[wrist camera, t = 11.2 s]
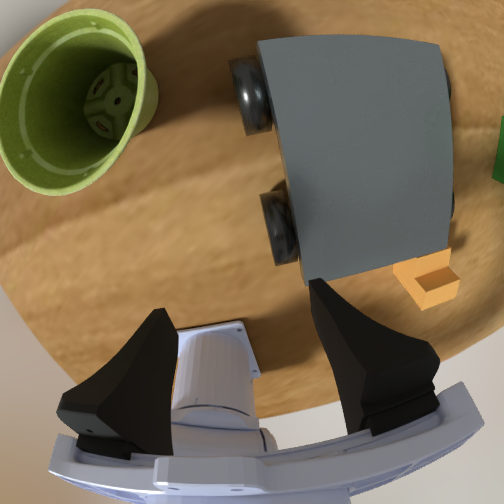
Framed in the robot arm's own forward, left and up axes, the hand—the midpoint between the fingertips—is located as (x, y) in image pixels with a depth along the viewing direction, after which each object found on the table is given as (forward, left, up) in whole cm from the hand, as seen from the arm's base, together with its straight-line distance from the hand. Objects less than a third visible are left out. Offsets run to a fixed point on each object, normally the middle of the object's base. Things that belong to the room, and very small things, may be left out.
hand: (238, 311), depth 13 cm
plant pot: (+12, +6, -10) cm, 17 cm away
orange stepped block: (-5, -16, -10) cm, 19 cm away
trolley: (+5, -9, -9) cm, 14 cm away
